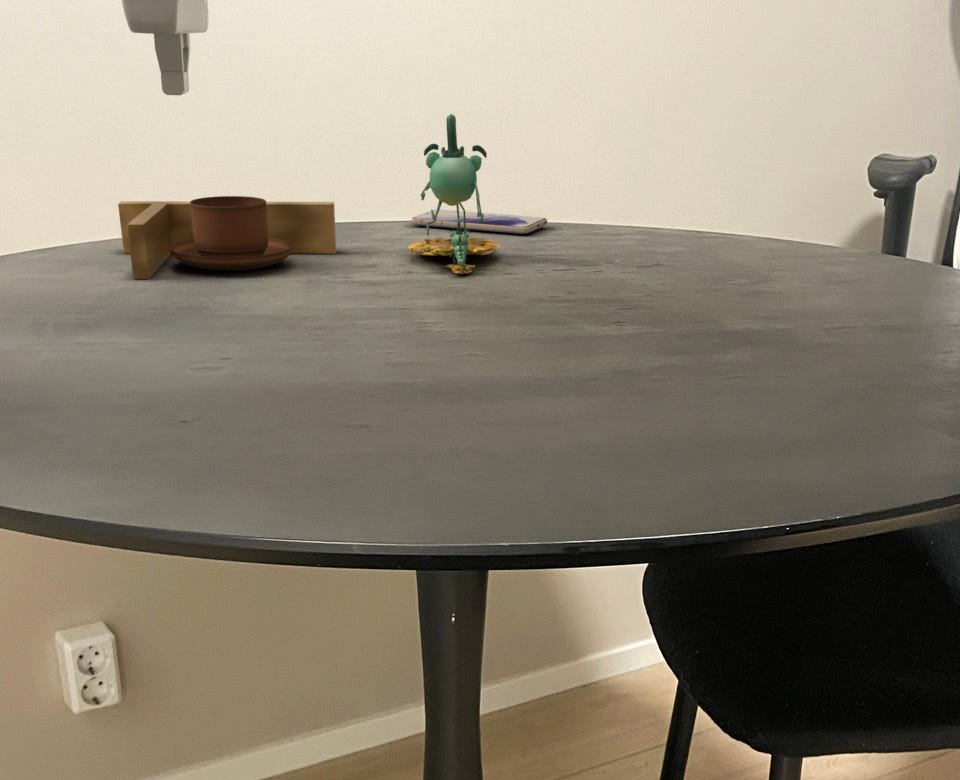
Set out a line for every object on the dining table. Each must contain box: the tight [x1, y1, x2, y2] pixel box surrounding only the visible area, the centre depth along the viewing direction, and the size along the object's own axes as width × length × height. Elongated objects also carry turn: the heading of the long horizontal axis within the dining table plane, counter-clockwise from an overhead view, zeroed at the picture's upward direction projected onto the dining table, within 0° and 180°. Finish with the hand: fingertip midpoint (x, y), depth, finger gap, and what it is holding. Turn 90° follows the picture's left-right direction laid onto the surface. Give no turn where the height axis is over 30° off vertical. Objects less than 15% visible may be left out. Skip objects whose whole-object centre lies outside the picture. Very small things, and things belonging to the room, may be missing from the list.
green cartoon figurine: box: [407, 113, 501, 275], centre depth 127 cm, size 10×18×15 cm, turn 171°
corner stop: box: [117, 200, 337, 280], centre depth 124 cm, size 22×15×5 cm
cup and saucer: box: [170, 195, 293, 271], centre depth 123 cm, size 12×12×6 cm
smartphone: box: [411, 209, 548, 235], centre depth 148 cm, size 7×1×15 cm
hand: (176, 94), depth 105 cm, fingers closed
